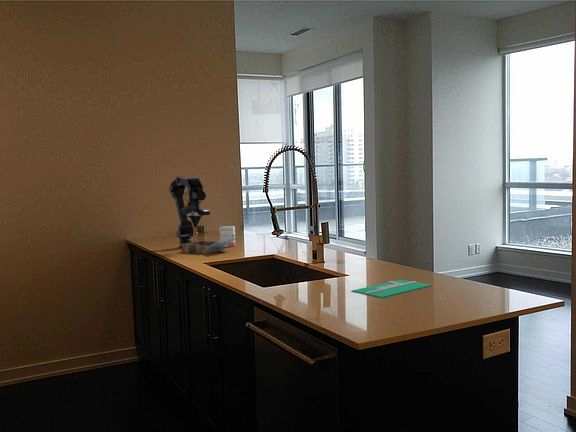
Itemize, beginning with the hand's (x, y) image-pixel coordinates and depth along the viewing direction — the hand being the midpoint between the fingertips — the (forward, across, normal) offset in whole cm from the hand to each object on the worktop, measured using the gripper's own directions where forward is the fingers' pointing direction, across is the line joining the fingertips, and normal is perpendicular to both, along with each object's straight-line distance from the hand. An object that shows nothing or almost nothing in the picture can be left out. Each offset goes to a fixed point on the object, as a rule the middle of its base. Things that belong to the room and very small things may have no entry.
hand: (195, 227), depth 337 cm
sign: (+14, +144, -46) cm, 152 cm away
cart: (+13, +6, -1) cm, 14 cm away
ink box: (+13, +7, +19) cm, 24 cm away
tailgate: (+11, +15, -1) cm, 19 cm away
